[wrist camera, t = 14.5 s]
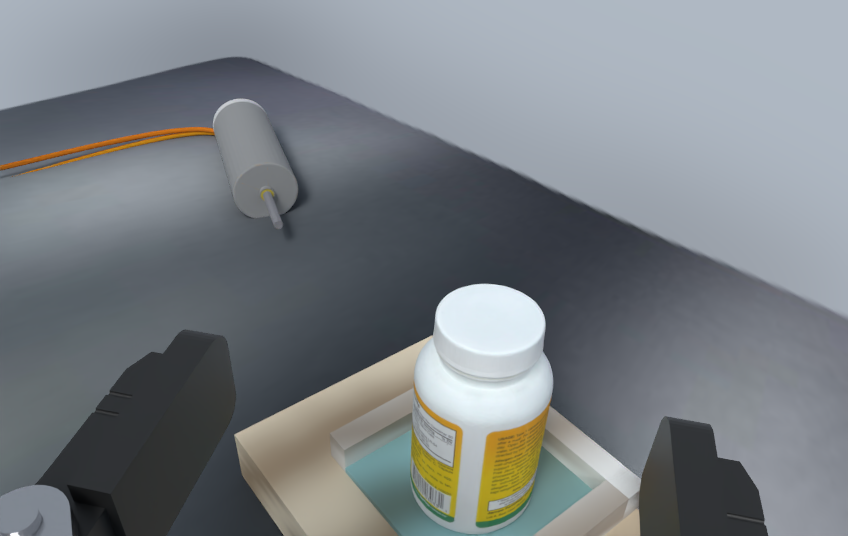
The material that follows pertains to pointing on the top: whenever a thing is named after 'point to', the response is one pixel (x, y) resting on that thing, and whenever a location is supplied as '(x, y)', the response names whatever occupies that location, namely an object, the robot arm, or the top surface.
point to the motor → (227, 158)
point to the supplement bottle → (480, 409)
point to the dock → (390, 467)
